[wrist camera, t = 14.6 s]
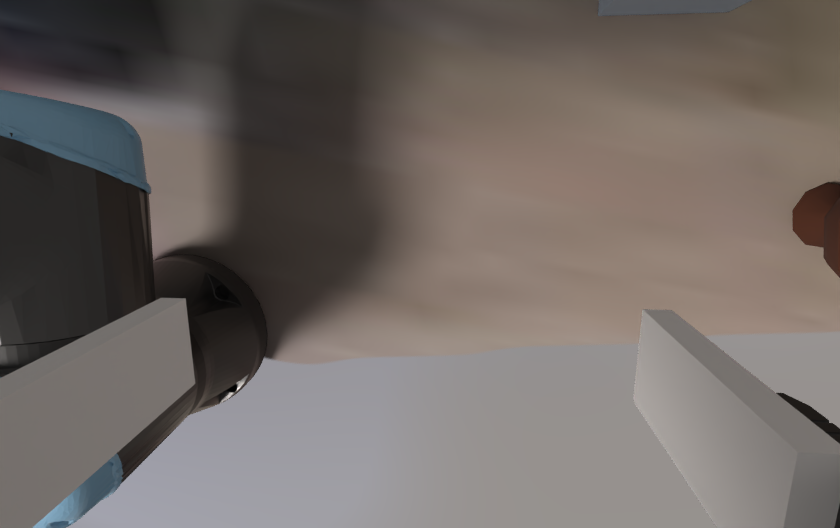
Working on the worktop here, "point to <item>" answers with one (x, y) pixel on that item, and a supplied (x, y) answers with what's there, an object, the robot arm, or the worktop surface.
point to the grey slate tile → (666, 6)
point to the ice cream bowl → (820, 221)
